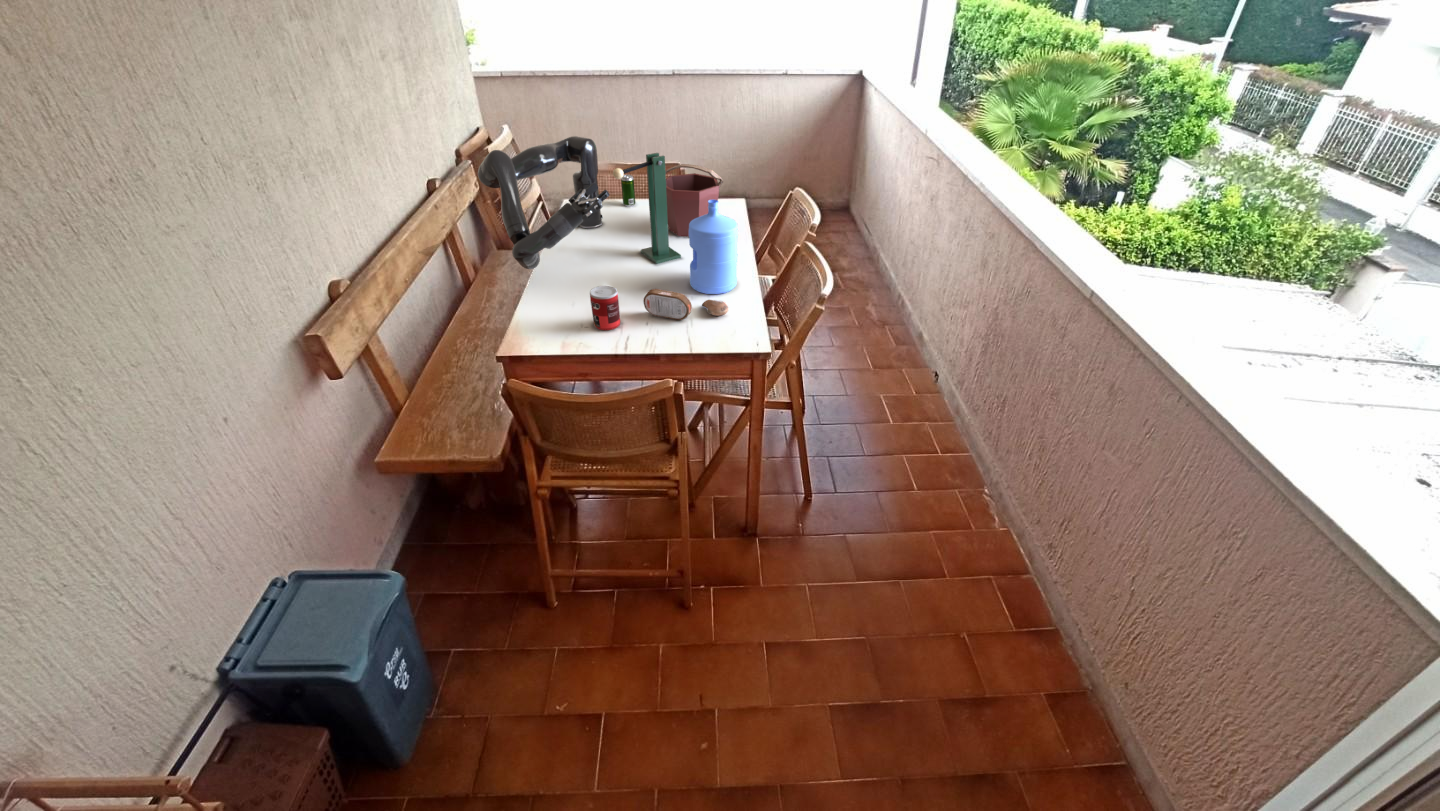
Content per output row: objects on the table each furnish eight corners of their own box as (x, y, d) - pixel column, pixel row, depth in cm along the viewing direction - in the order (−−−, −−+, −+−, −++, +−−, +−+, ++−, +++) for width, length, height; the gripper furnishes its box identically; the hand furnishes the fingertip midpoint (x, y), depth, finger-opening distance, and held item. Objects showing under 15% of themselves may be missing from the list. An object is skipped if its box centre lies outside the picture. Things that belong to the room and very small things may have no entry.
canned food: (594, 319, 195) (590, 285, 188) (621, 318, 195) (618, 284, 189) (592, 331, 188) (588, 297, 182) (620, 330, 189) (616, 296, 182)
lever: (617, 181, 207) (614, 171, 205) (612, 178, 210) (610, 168, 207) (662, 166, 213) (660, 155, 211) (657, 163, 216) (655, 153, 214)
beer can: (638, 205, 276) (636, 176, 269) (627, 207, 274) (625, 179, 267) (631, 201, 280) (629, 173, 273) (620, 204, 277) (618, 176, 270)
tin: (692, 318, 195) (691, 293, 190) (688, 323, 193) (688, 298, 188) (647, 310, 199) (645, 285, 194) (642, 315, 197) (641, 290, 192)
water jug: (744, 279, 217) (746, 197, 200) (724, 299, 206) (725, 213, 189) (702, 271, 222) (701, 190, 206) (681, 289, 211) (678, 205, 194)
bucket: (732, 228, 255) (733, 163, 240) (701, 246, 240) (700, 178, 225) (681, 216, 266) (679, 153, 251) (649, 233, 251) (644, 167, 236)
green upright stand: (656, 264, 227) (650, 162, 206) (640, 253, 235) (633, 153, 214) (681, 258, 231) (677, 157, 210) (664, 247, 239) (659, 148, 218)
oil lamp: (726, 307, 203) (701, 308, 202) (726, 295, 201) (701, 296, 200) (729, 317, 195) (703, 318, 194) (729, 305, 193) (702, 306, 192)
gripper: (566, 219, 199) (605, 185, 200) (549, 205, 208) (586, 173, 210) (580, 236, 204) (618, 203, 206) (563, 223, 214) (599, 191, 215)
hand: (602, 188), depth 208 cm, fingers open, 8 cm apart
